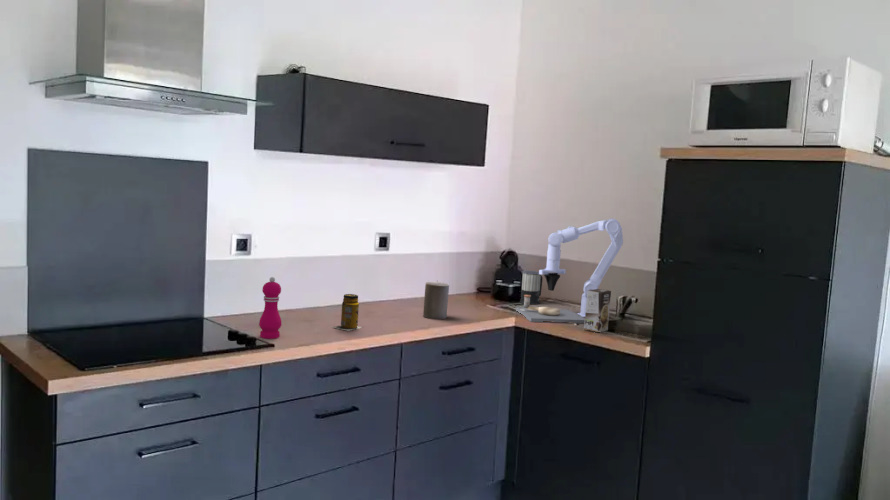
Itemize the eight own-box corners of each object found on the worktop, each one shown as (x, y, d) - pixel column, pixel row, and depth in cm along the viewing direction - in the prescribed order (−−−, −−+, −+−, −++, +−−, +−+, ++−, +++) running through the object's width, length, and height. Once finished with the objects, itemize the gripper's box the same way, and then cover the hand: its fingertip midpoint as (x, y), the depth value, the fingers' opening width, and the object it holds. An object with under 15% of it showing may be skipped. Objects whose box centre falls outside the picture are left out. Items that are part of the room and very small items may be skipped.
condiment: (362, 327, 264) (364, 295, 263) (348, 331, 257) (350, 297, 256) (346, 324, 268) (347, 292, 267) (332, 328, 260) (333, 295, 259)
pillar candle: (423, 318, 289) (426, 281, 287) (422, 313, 298) (425, 277, 297) (447, 320, 289) (450, 283, 288) (446, 315, 299) (448, 279, 298)
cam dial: (561, 313, 311) (563, 297, 311) (556, 316, 303) (558, 300, 302) (525, 308, 317) (527, 293, 317) (520, 311, 309) (521, 296, 308)
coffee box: (598, 333, 282) (601, 292, 280) (583, 330, 286) (586, 290, 284) (608, 330, 289) (611, 290, 288) (593, 327, 293) (596, 288, 291)
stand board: (567, 312, 324) (568, 308, 324) (586, 323, 300) (587, 319, 300) (515, 310, 320) (516, 307, 320) (530, 321, 296) (531, 317, 296)
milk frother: (537, 305, 338) (540, 274, 337) (504, 301, 343) (506, 270, 341) (542, 301, 352) (544, 270, 350) (510, 297, 356) (512, 267, 355)
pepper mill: (254, 337, 238) (256, 277, 236) (267, 333, 245) (269, 274, 243) (272, 340, 236) (275, 279, 234) (285, 336, 243) (287, 277, 241)
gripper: (558, 258, 327) (556, 288, 328) (535, 258, 318) (532, 289, 319) (570, 260, 321) (567, 290, 322) (546, 260, 312) (544, 292, 314)
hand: (551, 290), depth 320 cm, fingers closed
